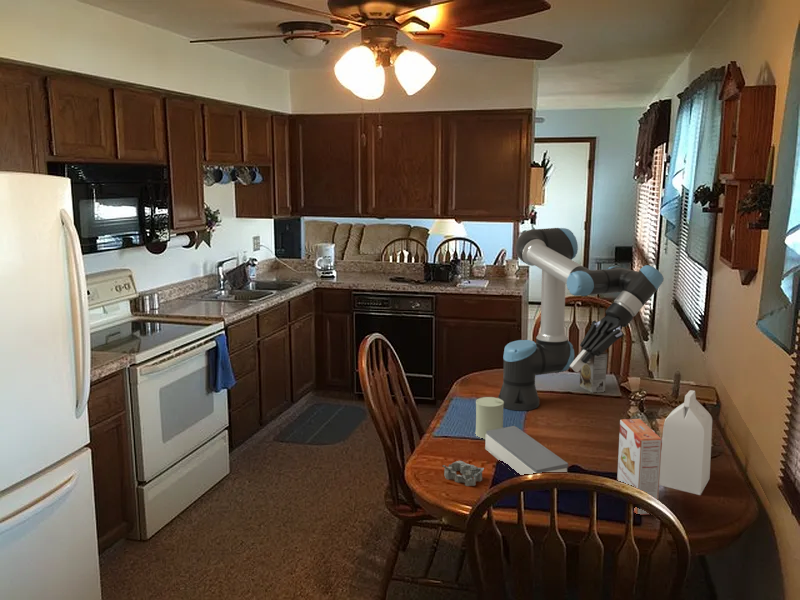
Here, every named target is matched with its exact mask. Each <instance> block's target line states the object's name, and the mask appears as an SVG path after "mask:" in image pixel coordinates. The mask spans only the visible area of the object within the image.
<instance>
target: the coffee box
mask: <svg viewBox="0 0 800 600" xmlns="http://www.w3.org/2000/svg"><path fill="white" fill-rule="evenodd" d="M581 351H582V347H581V350H580V352H581ZM607 365H608V352H607V351H606V350H605V351H604V352H603V353H602V354H601V355H600V356H597V355H594V356H592V357H591V358H590V359H589V361H588V362H587V363H586V364H584V366H583V367H582V368H581V369H580V370H579V371H580V372H579V373H580V374H579V387H581V388H582V389H583V390H585V391H587V390H588V391H587V392H589V391H590V392H589V393H591V392H592V393H591V394H594V393H593V392H597V393H602V392H603V393H604V391H605V392H606V384H607V383H606V378H607V368H608V367H607Z"/></svg>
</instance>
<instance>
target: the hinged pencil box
mask: <svg viewBox="0 0 800 600" xmlns="http://www.w3.org/2000/svg"><path fill="white" fill-rule="evenodd" d="M484 440H485V443H484V444H485V446H484V449H485V450H486V451H488V453H490V455H492V456H493V457H494V458H495V459H496V460H498V461H499V460H500V461H503V462H504V463H506V464H508V465H509V466H510V467H511V468H512V469H514V470H515V471H516V472H517V473H519V474H520V475H524V474H533V473H535V472H534V471H533V470H532V469H530V468H529V467H528V466H527V465H525V464H524V463H523V462H521V461H520V460H519V459H518V458H516V457H515V456H514V455H513V454H511V453H510V452H509V451H508V450H506V449H505V448H504V447H502V446H501V445H500V444H499V443H497V442H496V441H495V440H494V439H492V438H491V437H490V436H488V435H487V434H486V439H484ZM500 461H499V462H500ZM546 472H567V473H568V467H565V468H560V469H556V470H551V471H546Z"/></svg>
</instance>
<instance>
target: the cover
mask: <svg viewBox="0 0 800 600" xmlns="http://www.w3.org/2000/svg"><path fill="white" fill-rule="evenodd" d="M486 434H487V435H488V436H490V437H491V438H492V439H494V440H495V441H496V442H497V443H499V444H500V445H501V446H502V447H504V448H505V449H506V450H508V451H509V452H510V453H511V454H513V455H514V456H515V457H516V458H518V459H519V460H520V461H521V462H523V463H524V464H525V465H527V466H528V467H529V468H530V469H532V470H533V471H534V472H535V473H542V472H546V471H551V470H556V469H560V468H565V467H566V468H569V463H568V462H567V461H565V460H564V459H562V457H560V456H559V455H557V454H555V453H554V452H553V451H551V450H550V449H548V448H547V447H545V446H544V445H542V444H541V443H540V442H539V441H537V440H536V439H534V438H533V437H531V435H528V434H527V433H526V432H524V431H523V430H522V429H521V428H519V427H517V425H516V426H515V425H510V426H506V427H503V428H499V429H494V430H489V431H486Z"/></svg>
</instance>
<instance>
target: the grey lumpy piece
mask: <svg viewBox="0 0 800 600" xmlns="http://www.w3.org/2000/svg"><path fill="white" fill-rule="evenodd" d="M442 468H443V469H444V471H443V472H444V474H443V476H444V477H445V479H446V480H454V482H455V483H464V486H466V487H470V486H473V487H475V486H476V483H477V482H481V481H483V472H484V469H485V468H484V467H478V466H476V465H474V464H469V463H466V462H464V461H463V460H458V461H454V462H452V463H450V464H448V466H447V465H444V464H442ZM457 472H460V474H457Z"/></svg>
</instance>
